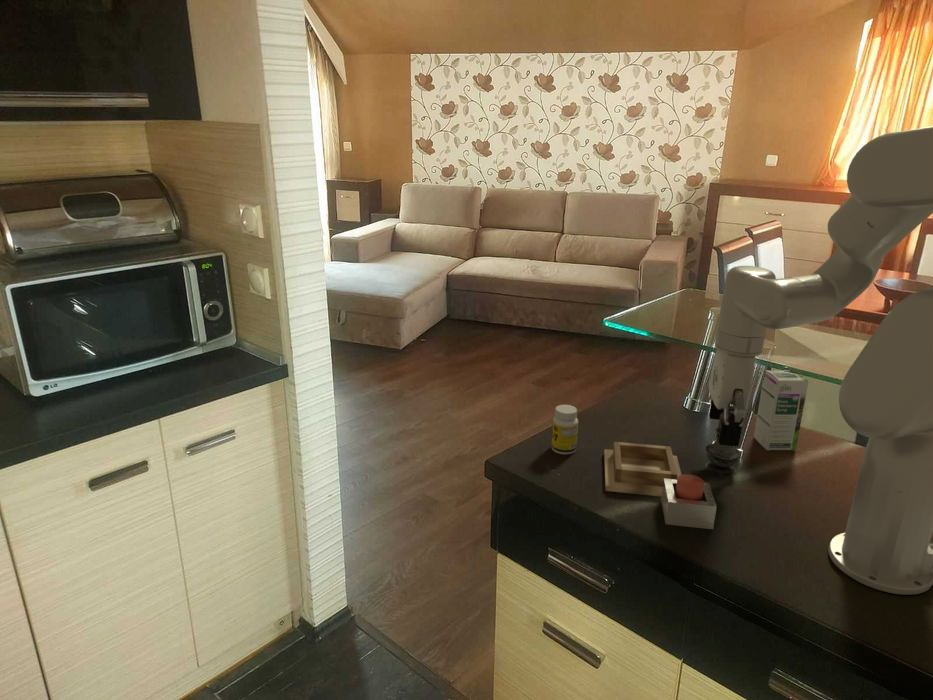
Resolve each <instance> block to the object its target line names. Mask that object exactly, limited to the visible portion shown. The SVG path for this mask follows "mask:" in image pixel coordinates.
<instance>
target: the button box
mask: <svg viewBox="0 0 933 700" xmlns="http://www.w3.org/2000/svg"><path fill="white" fill-rule="evenodd" d="M676 485H677V480H675V479H665V478H664V481H663V489H662V496H660V497H661V499H660V502H661V506H662V512H663V517H664V523H665V525H669V526H679V527H686V528H687V527H688V528H696V529H697V528H698V529H707V530H714V527H715V526H714V524H715V520H716V513H717V508H718V507H717V504H716V501H715V498H714V494H713V491H712V488H711V485H710V482H705V481H704V489H703V496H702V501H695V500H685V499H676V497H675V493H676Z"/></svg>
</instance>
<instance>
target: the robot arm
mask: <svg viewBox="0 0 933 700" xmlns="http://www.w3.org/2000/svg"><path fill="white" fill-rule="evenodd" d="M846 184H847V188H848V189H847V190H848V192H849V193H850V197H849V198H848V199H847V200H845V202H843V204H841V206H840V207H839V208H838V209H837V210H836V211H835V212H834V213H833V214H832V215H831V216H830V218H829V219H828V222H827V232H828V235H829V238H830V239H831V240H832V242H833V244H834V245H835V246H836V247H837V248H836V249H835V250H834V252H833V254H832V255H831V256H829V257H828V259H826V261H824V263H822V264H821V265H820V266H819V267H818V268H817V269H816V270H815V271H813V272H812V273H811V274H809V275H808V274H807V275H799V276H792V277H791V276H790V277H784V278H783V277H782V278H777V276H776V274H775V273H774V272H773V271H772V270H771V269H768V268H765V267H759V266H754V265H738V266H734V267H732V268H730V269H729V270H728V272H727V273H726V276H725V281H724V282H725V283H724V287H723V292H722V293H723V294H722V298H721V300H722V301H721V306H720V311H719V318H718V323H717V329H716V335H715V339H714V348H715V349H716V351H715V355H714V359H713V363H712V364H713V365H712V368H711V372H710V377H709V382H708V392H709V394H710V397H711V402H710V408H709V412H708V413H709V414H708V417H709V419H710V420H718V421H719V419H720V415H721V414H722V413H723V412H724V422H722V424H721V430H720V435H719V441H718V442H719V444H720V445H728V446H734V447H738V446H740V440H741V435H742V429H743V425H744V420H745V418H744V416H745V413H746V411H747V409H748V406H749V403H750V398H751V394H752V393H751V392H752V387H753V381H754V374H755V369H756V368H755V365H756V358H757V357H758V356H760V355H762V353H763V349H764V345H765V341H766V337H767V336H766V335H767V330H768V329H770V330H782V329H789V328H793V327H798V326H804V325H809V324H816V323H821V322H825V321H827V320H829V319H831V318H833V317H835V316H836V315H838V314H839V313H840V312H842V311H843V310H844V309H846V308H847V307H848V306H849V305H850V304H851V303H853V302H854V301H855V300H856V299H857V298H858V297H860V296H861V295H862V294H863V293H864V292H865V291H866V290H867V289H868V288H869V287H870V286H871V284H872V283H873V281H874V280H875V279H876V277H877V275H878V272H879V270H880V268H881V265H882V261H883V259H884V258H885V257H886V256H887V254H888V253H890V252H891V251H892V250H893V249H894V248H895V247H896V246H898V245H899V244H900V243H901V242H902V241H903V240H904V239H905V238H906V237H907V236H909V234H911V233H912V232H913V231H914V230H915V229H916V228H917V227H919V225H921V224H922V223H923V222H924V221H925V220H927V219H928V218H929V217H930V216H931V215H933V125H931V126H926V127H920V128H919V127H918V128H913V129H907V130H901V131H894V132H888V133H884V134H882V135H879V136H877V137H875V138H873V139H871V140H870V141H868V142H866V144H864V145H863V146H861V148H860V149H858V151H857V152H856V154H855V155H854V156H853V157H852V159H851V161H850V164H849V166H848V168H847V174H846ZM731 405H734V406H731ZM838 406H839V410H840V413H841V416H842V417H843V420H844V422H845V423H846V424H847V425H848V426H849V427H850V429H852V430H853V431H854V432H856V433H857V434H859V435H862V436H864V437H867V438H868V441H867V443H866V447H865V451H864V453H863V454H864V455H863V458H862V461H861V462H862V463H861V466H860V469H859V474H858V479H857V482H856V486H855V490H854V495H853V498H852V502H851V508H850V512H849V515H848V520H847V524H846V528H845V532H843V533H839V534H837V535H835V536H834V537H832V539H830V541H829V544H828V545H829V546H828V548H827V549H828V555H829V558H830V560H831V561H832V563H833V564H834V565H835V566H836V567H837V568H838V569H839V570H841V572H843V574H845V575H847V576H848V577H850V578H851V579H853V580H855V581H857V582H858V583H861V584H862V585H865V586H867V587H870V588H872V589H874V590H878V591H881V592H886V593H889V594H896V595H904V596H905V595H910V596H911V595H919V594H922V593H924V592H927V591H928V590H929V589H930V588H931V587H932V586H933V543H931V538H932V535H933V286H932V287H929V288H924V289H921V290H918V291H916V292H913V293H911V294H909V295H908V296H906V297H905V298H903V299H902V300H901V301H899V302H898V303H897V304H896V305H895V306H894V307H893V308H891V310H889V312H887V314H886V315H885V316H884V318H883V320H882V321H881V322H880V323H879V325H878V326H877V328H876V329H875V331H874V333H873V334H872V335H871V337H870V338H869V340H868V341H867V342H866V344H865V345H864V347H863V348H862V349H861V351H860V353H859V354H858V356H857V357H856V359H855V360H854V361H853V363H852V365H850V367H849V369H848V371H847V372H846V373H845V375H844V378H843V379H842V382H841V385H840V388H839V392H838ZM729 411H731V412H732V413H734V414H732V415H731V416H730V417H729Z"/></svg>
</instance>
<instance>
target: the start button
mask: <svg viewBox="0 0 933 700" xmlns="http://www.w3.org/2000/svg"><path fill="white" fill-rule="evenodd" d="M704 482H705V481H704V479H702V478H701V477H699V476H697V475H695V474H689V473H688V474H685V473H683V474H681V475H680V476H679V477H678V478H677V485H676V493H675V497H676V499H685V500H695V501H702V496H703V489H704Z"/></svg>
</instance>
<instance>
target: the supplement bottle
mask: <svg viewBox="0 0 933 700" xmlns="http://www.w3.org/2000/svg"><path fill="white" fill-rule="evenodd" d="M554 410H555V411H554V416H553V418H552V426H551V427H552V429H551V443H550V444H551V446H550V447H551V450H552V451H553V452H555V453H556V454H559V455H570V454H571V455H572V454H573V453H575V452H577V445H578V433H579V432H578V431H579V419H578V418H577V417H578V409H577V407H575V406H574V405H570V404H560V405H557V406H556V407H555V409H554Z"/></svg>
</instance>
